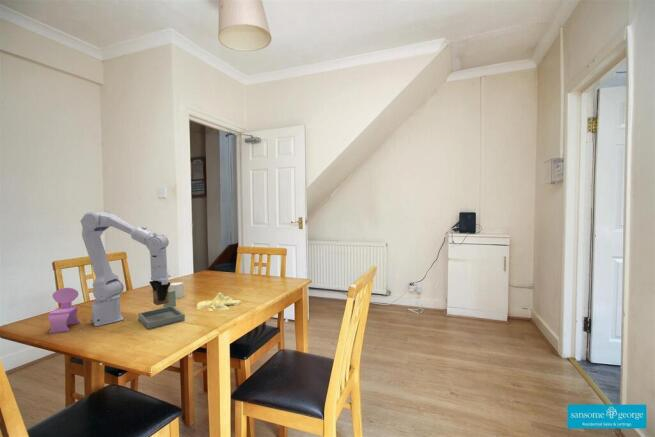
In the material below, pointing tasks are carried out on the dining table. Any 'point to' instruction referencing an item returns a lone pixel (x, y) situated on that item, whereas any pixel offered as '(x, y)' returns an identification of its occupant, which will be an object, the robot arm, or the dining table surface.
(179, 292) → the shot glass
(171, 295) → the tall block
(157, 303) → the short block
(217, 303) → the cloth
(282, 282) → the dining table surface
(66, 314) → the toy chair
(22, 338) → the dining table surface
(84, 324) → the dining table surface
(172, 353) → the dining table surface
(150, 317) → the tray
